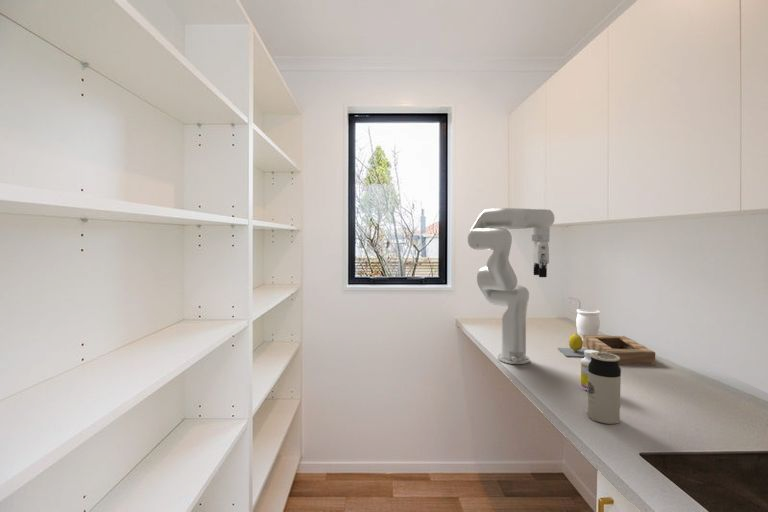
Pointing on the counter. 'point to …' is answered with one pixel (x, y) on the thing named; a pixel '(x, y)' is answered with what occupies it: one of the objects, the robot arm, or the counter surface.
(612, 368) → the travel mug
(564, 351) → the grey mat
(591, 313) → the jar
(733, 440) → the counter surface
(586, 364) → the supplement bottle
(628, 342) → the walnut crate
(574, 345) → the lemon
